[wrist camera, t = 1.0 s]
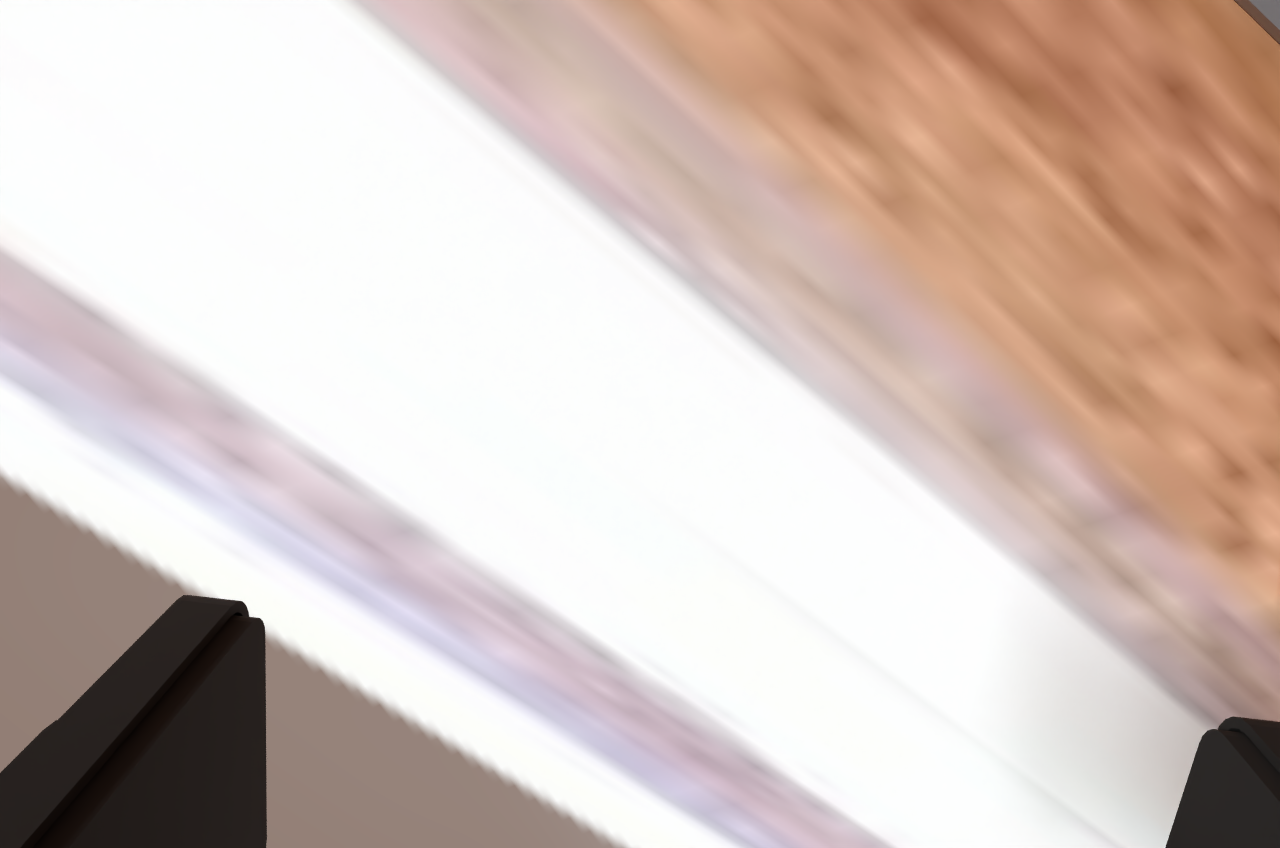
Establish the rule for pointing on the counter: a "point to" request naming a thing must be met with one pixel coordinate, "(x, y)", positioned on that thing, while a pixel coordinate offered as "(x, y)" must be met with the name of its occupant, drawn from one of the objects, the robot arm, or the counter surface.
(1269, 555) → the counter surface
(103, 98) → the counter surface
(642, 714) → the counter surface
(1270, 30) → the plate
